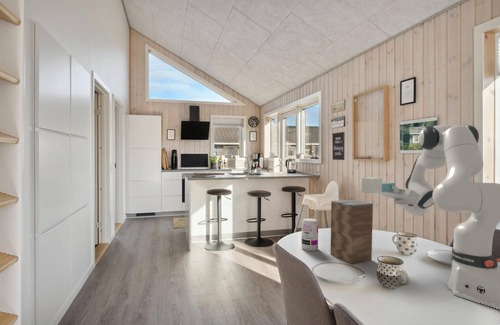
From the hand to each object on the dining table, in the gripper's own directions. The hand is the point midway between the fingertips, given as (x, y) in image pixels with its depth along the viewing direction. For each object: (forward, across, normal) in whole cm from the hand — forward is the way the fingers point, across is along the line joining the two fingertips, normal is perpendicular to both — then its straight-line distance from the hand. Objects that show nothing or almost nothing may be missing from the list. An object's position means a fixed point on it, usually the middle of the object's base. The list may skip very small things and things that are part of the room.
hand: (387, 186), depth 150 cm
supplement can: (+14, -18, +46) cm, 51 cm away
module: (+4, 0, +5) cm, 6 cm away
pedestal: (+5, 0, +40) cm, 41 cm away
